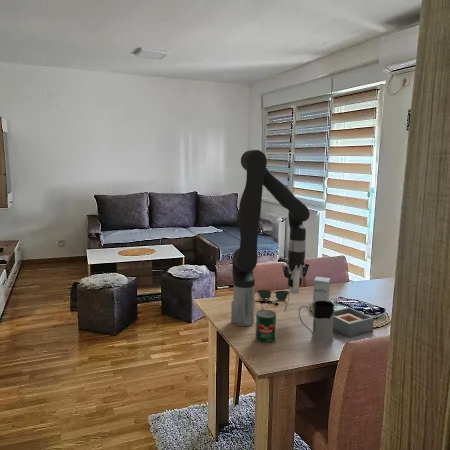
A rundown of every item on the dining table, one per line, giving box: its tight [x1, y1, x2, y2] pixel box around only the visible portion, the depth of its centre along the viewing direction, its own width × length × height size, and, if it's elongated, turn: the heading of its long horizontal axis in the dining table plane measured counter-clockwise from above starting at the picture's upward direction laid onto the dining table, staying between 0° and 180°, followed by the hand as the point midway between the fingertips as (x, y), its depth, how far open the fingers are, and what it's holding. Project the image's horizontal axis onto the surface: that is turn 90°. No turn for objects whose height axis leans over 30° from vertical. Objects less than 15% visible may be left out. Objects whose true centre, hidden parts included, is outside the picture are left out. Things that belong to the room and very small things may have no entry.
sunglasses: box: [256, 289, 290, 311], centre depth 202 cm, size 16×17×5 cm
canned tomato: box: [255, 309, 277, 345], centre depth 161 cm, size 8×8×11 cm
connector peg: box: [289, 267, 300, 295], centre depth 183 cm, size 4×4×12 cm
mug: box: [298, 301, 335, 345], centre depth 162 cm, size 9×14×15 cm, turn 81°
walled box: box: [333, 307, 375, 339], centre depth 173 cm, size 14×14×6 cm
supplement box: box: [312, 276, 331, 305], centre depth 204 cm, size 7×7×13 cm
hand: (294, 286), depth 184 cm, fingers closed on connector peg, 4 cm apart
